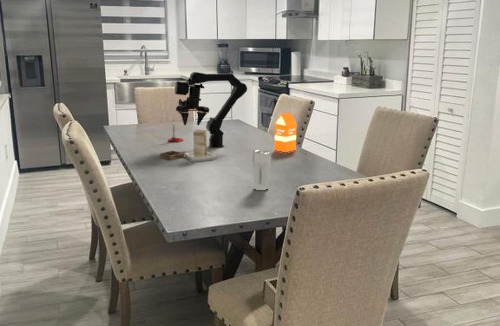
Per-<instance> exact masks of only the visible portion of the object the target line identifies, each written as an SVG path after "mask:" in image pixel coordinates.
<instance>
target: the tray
mask: <svg viewBox="0 0 500 326" xmlns="http://www.w3.org/2000/svg"><path fill="white" fill-rule="evenodd" d="M184 158H186V159H188V160H189V161H191V162H192V163H197V162H207V161H216V160H217V155H215V154H213V153H211V152H209V151H208V150H207V156H206V157H198V158H195V157H194V151H193V152H184Z"/></svg>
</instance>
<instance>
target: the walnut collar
mask: <svg viewBox="0 0 500 326" xmlns="http://www.w3.org/2000/svg"><path fill="white" fill-rule="evenodd" d="M159 158H160V159H161V158H162V159H166V160H168V161H169V160H170V161H174V160H178V159H181V158H185V152H181V151H176V150H170V151H164V152H161V153H159Z"/></svg>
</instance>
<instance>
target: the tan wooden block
mask: <svg viewBox="0 0 500 326" xmlns="http://www.w3.org/2000/svg"><path fill="white" fill-rule="evenodd" d="M192 133H193V152H194V157H195V158H198V157H206V156H207V151H208V145H207V143H208V142H207V141H208V140H207V136H208V135H207V129H195V130H193V131H192Z"/></svg>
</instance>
